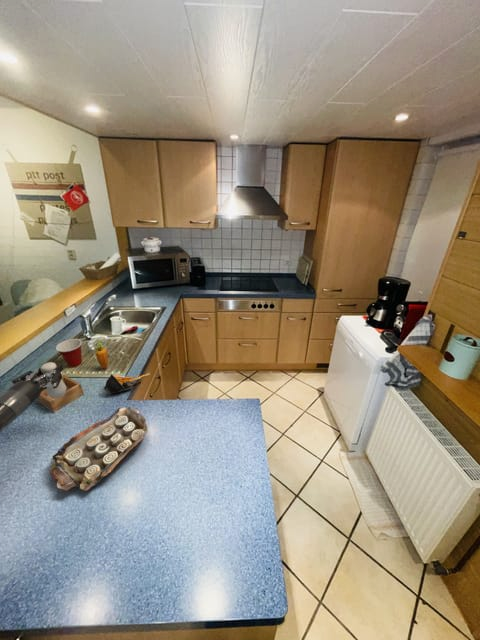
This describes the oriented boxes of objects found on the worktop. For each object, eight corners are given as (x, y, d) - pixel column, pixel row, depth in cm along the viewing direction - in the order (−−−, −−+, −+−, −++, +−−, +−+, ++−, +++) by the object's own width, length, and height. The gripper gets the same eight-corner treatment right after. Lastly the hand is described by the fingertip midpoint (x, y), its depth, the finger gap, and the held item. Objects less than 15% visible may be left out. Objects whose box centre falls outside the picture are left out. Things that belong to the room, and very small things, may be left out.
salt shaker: (71, 388, 92) (61, 359, 87) (63, 399, 87) (53, 369, 82) (53, 390, 91) (42, 360, 86) (45, 401, 86) (33, 370, 81)
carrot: (108, 372, 122) (102, 345, 116) (98, 372, 122) (90, 346, 116) (112, 366, 127) (106, 340, 120) (102, 366, 126) (95, 340, 120)
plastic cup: (58, 372, 122) (51, 351, 117) (67, 359, 131) (61, 339, 126) (83, 369, 124) (76, 348, 119) (90, 357, 134) (84, 337, 128)
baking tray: (81, 512, 67) (76, 500, 65) (38, 474, 76) (32, 462, 74) (162, 432, 91) (160, 421, 89) (122, 409, 100) (119, 399, 98)
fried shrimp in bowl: (97, 381, 109) (133, 354, 118) (114, 399, 112) (147, 372, 121) (101, 385, 101) (138, 356, 110) (118, 404, 105) (153, 375, 114)
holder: (54, 412, 99) (49, 401, 96) (38, 401, 104) (33, 391, 101) (84, 394, 108) (80, 384, 106) (67, 385, 113) (64, 375, 111)
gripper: (36, 391, 70) (72, 357, 86) (-15, 390, 70) (31, 356, 86) (44, 411, 74) (78, 375, 89) (-5, 410, 73) (37, 374, 89)
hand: (54, 366), depth 87 cm, fingers closed on salt shaker, 4 cm apart
